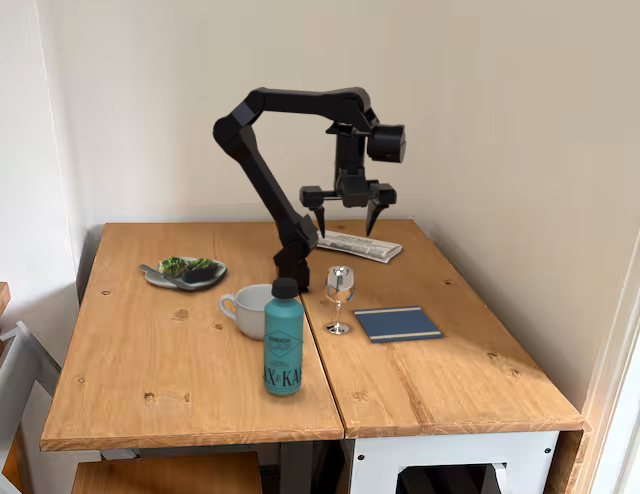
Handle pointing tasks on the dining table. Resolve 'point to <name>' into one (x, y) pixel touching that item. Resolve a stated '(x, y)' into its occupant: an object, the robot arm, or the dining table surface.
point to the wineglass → (339, 292)
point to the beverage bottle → (283, 338)
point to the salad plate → (185, 273)
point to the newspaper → (359, 245)
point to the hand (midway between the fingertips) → (345, 237)
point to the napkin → (396, 324)
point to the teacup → (249, 308)
